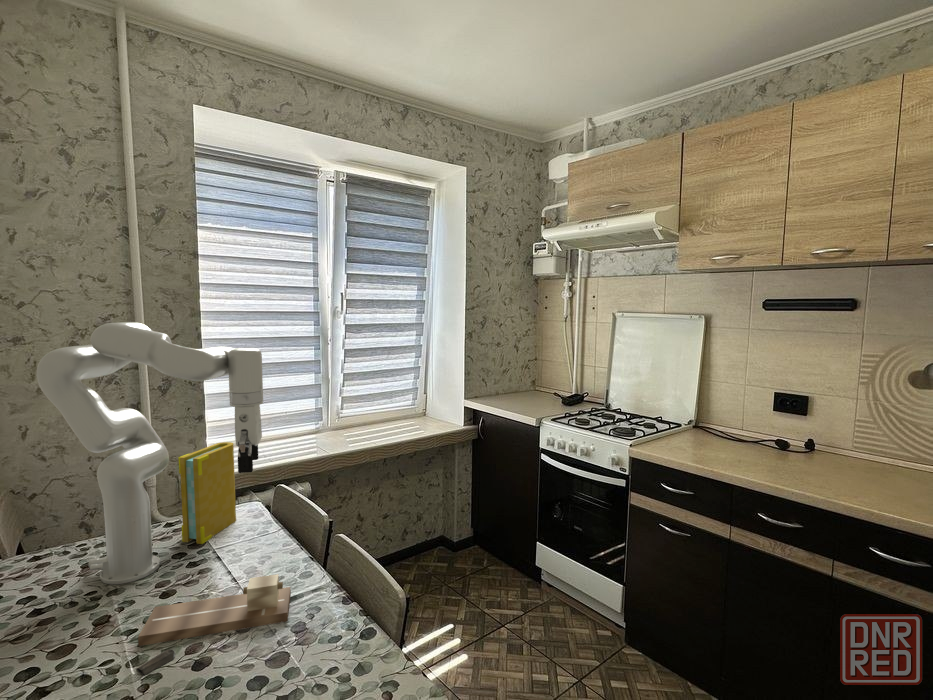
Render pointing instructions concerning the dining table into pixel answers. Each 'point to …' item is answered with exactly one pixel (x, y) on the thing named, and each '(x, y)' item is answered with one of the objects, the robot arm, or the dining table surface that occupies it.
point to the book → (207, 491)
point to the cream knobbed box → (263, 592)
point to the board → (210, 617)
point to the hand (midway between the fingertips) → (248, 465)
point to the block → (156, 662)
